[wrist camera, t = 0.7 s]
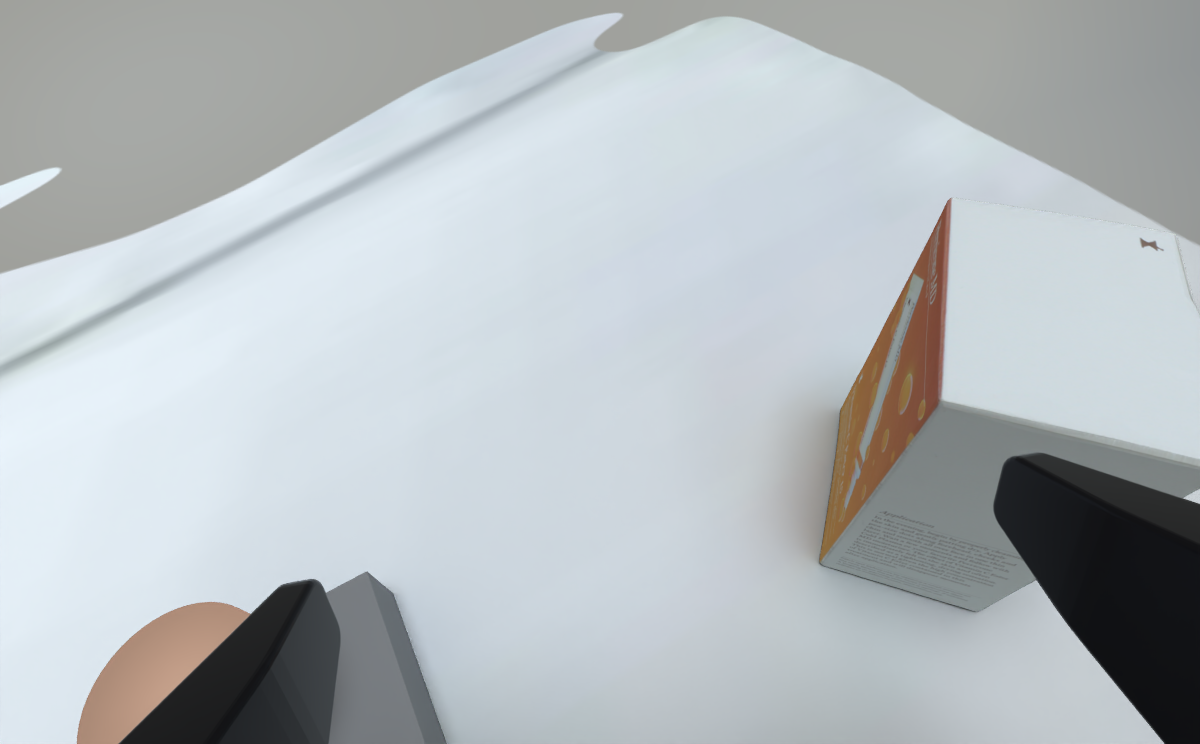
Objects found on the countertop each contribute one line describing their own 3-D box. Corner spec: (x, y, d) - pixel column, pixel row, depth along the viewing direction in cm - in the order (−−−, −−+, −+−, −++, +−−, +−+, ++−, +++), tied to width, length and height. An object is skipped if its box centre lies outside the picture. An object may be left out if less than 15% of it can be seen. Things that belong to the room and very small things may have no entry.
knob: (360, 750, 20) (288, 736, 16) (204, 844, 19) (81, 856, 15) (321, 612, 23) (250, 570, 19) (182, 687, 22) (72, 660, 17)
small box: (837, 408, 30) (948, 189, 19) (979, 443, 28) (1185, 227, 18) (813, 568, 25) (938, 400, 15) (979, 618, 24) (1251, 473, 13)
